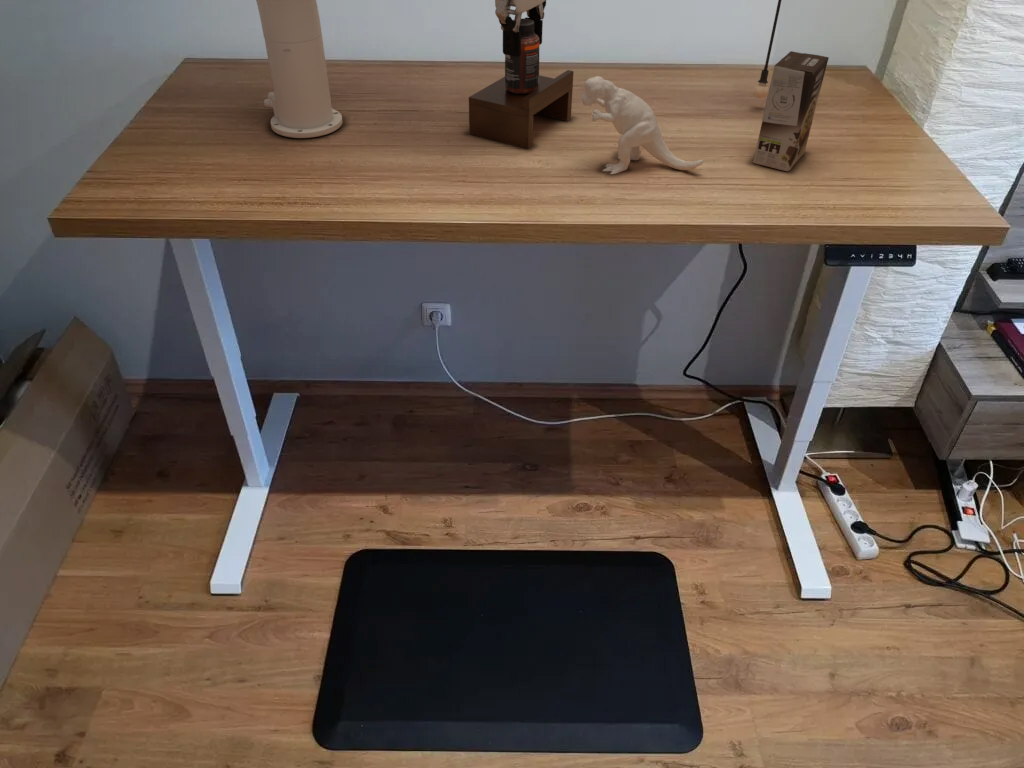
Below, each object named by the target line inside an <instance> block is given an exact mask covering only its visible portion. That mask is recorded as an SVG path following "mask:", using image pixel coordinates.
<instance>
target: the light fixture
mask: <svg viewBox="0 0 1024 768" xmlns="http://www.w3.org/2000/svg"><path fill="white" fill-rule="evenodd" d="M781 4H782V0H778V2H777V6H776V9H775V16H774V20H773V25H772V29H771V35H770V40H769V44H768V50H767V54H766V58H765V64H764V67H763V69H762V70H761V73H760V78H759V80H757V82H758V84H756V85H755V87H754V88H753V95H754V96H755V97H756V98H757V99H763V98H766V97H768V93H769V87H768V85H767V84H768V83H769V81H768V76H769V70H768V68H769V62H770V58H771V52H772V48H773V43H774V39H775V33H776V30H777V29H776V28H777V24H778V19H779V14H780V9H781Z"/></svg>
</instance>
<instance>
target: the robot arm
mask: <svg viewBox="0 0 1024 768" xmlns="http://www.w3.org/2000/svg"><path fill="white" fill-rule="evenodd" d="M255 2H256V6H257V9H258V15H259V19H260V24H261V29H262V35H263V38H264V43H265V44H264V45H265V50H266V55H267V62H268V66H269V67H268V68H269V73H270V76H271V83H272V88H273V89H272V90H273V91H269V92H268V93H267V98H265V99H264V100H263V105H264V107H266V108H270V109H272V110H273V114H274V115H273V116H272V117H271V119H270V122H269V123H270V127H271V130H272V131H273V132H274V133H276V134H277V135H279V136H283V137H285V138H291V139H310V138H316V137H323V136H325V135H329V134H331V133H334V132H335V131H337V130H338V129H340V128H341V127H342V126H343V123H344V122H343V116H342V113H340V111H338V110H337V109H335V108H333V105H332V99H331V98H332V97H331V91H330V82H329V76H328V70H327V69H328V68H327V62H326V53H325V46H324V40H323V32H322V27H321V26H322V25H321V19H320V14H319V8H318V2H317V0H255ZM494 6H495V10H494V11H495V12H494V14H495V16H496V17H497V19H498V22H499V24H500V30H501V31H502V54H503V55H504V56H505V55H510V56H515V57H519V56H520V55H521V31H518V30H519V25H520V21H521V19H522V15H523V13H525V12H526V16H527V17H524V19H530V20H533V21H534V32H535V34H537V35H538V37H539V41H540V45H542V44H543V26H544V25H543V24H544V23H543V22H544V18H545V9H546V6H547V0H494ZM511 7H513V8H514V7H515V8H514V9H512V8H511ZM510 15H512V16H514V19H513V18H512V17H511V16H510ZM513 20H514V22H513Z"/></svg>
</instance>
